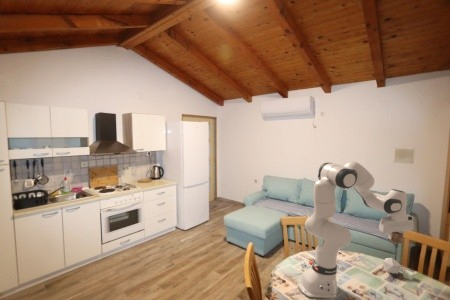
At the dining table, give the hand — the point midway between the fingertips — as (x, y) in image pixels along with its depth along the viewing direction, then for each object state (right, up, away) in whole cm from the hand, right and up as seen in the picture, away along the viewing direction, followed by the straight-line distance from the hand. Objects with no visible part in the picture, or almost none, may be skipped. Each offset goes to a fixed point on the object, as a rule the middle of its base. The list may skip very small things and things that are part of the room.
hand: (395, 238), depth 134 cm
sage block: (+7, -24, -1) cm, 25 cm away
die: (0, -24, +4) cm, 24 cm away
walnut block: (0, -2, 0) cm, 2 cm away
